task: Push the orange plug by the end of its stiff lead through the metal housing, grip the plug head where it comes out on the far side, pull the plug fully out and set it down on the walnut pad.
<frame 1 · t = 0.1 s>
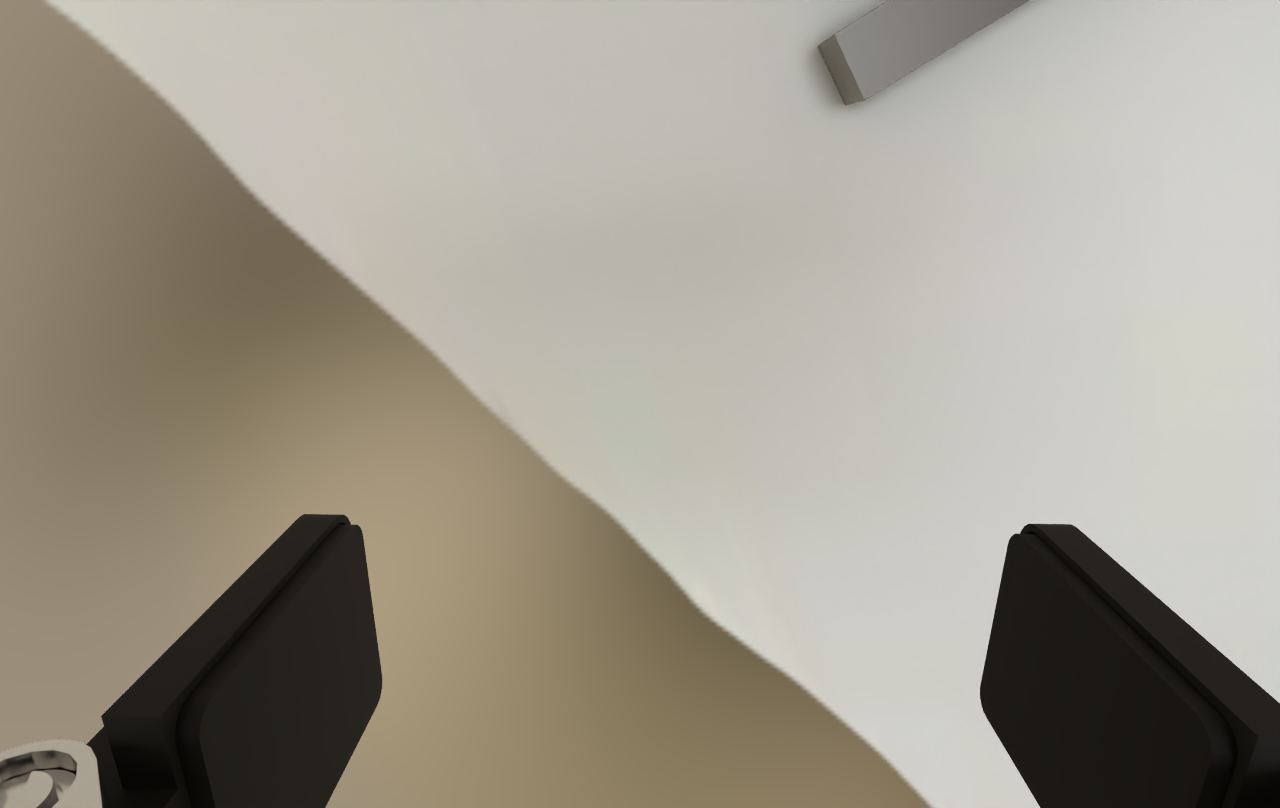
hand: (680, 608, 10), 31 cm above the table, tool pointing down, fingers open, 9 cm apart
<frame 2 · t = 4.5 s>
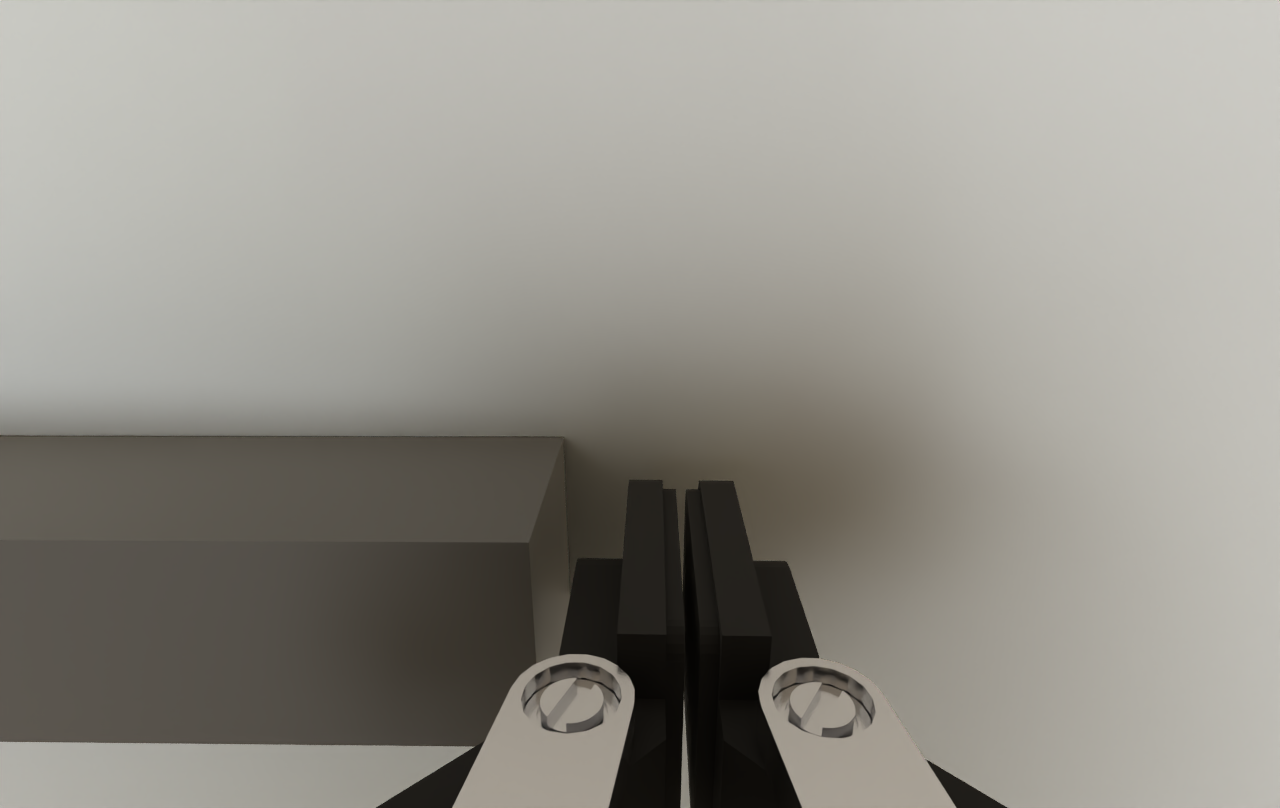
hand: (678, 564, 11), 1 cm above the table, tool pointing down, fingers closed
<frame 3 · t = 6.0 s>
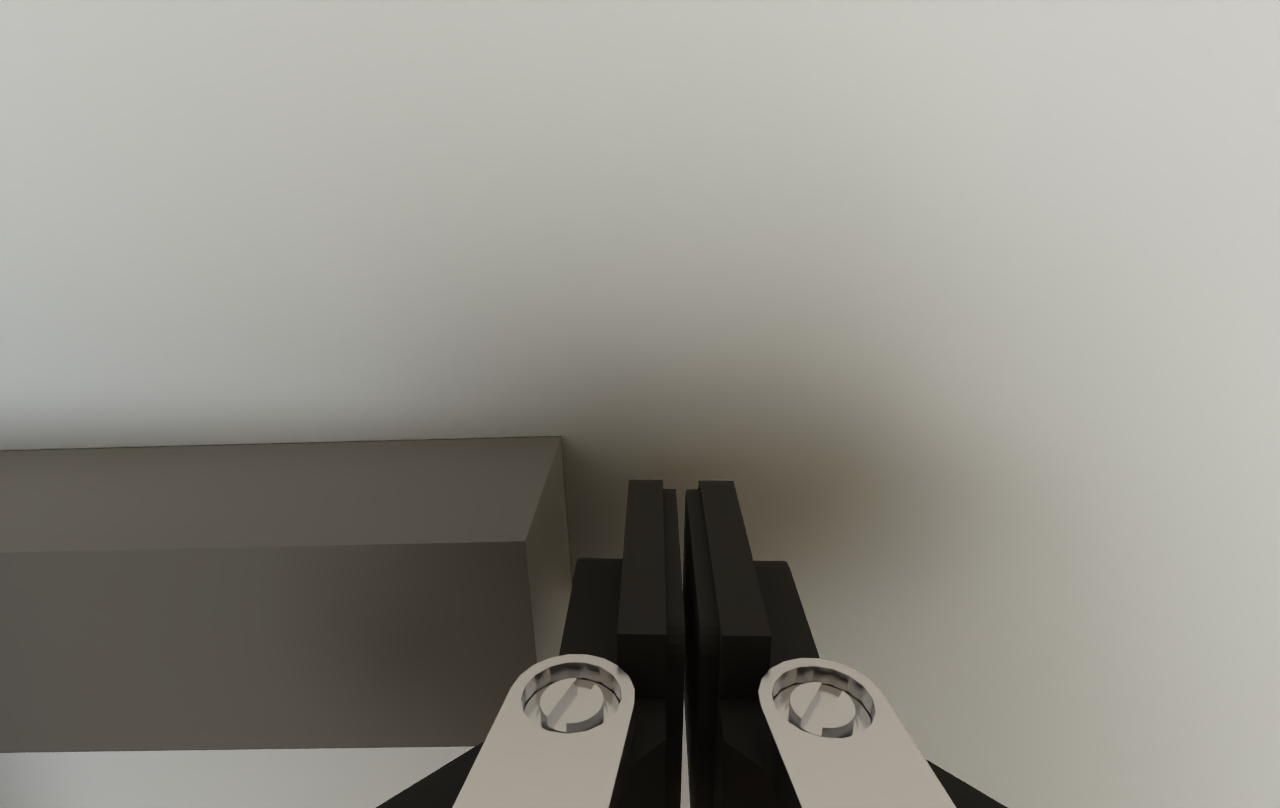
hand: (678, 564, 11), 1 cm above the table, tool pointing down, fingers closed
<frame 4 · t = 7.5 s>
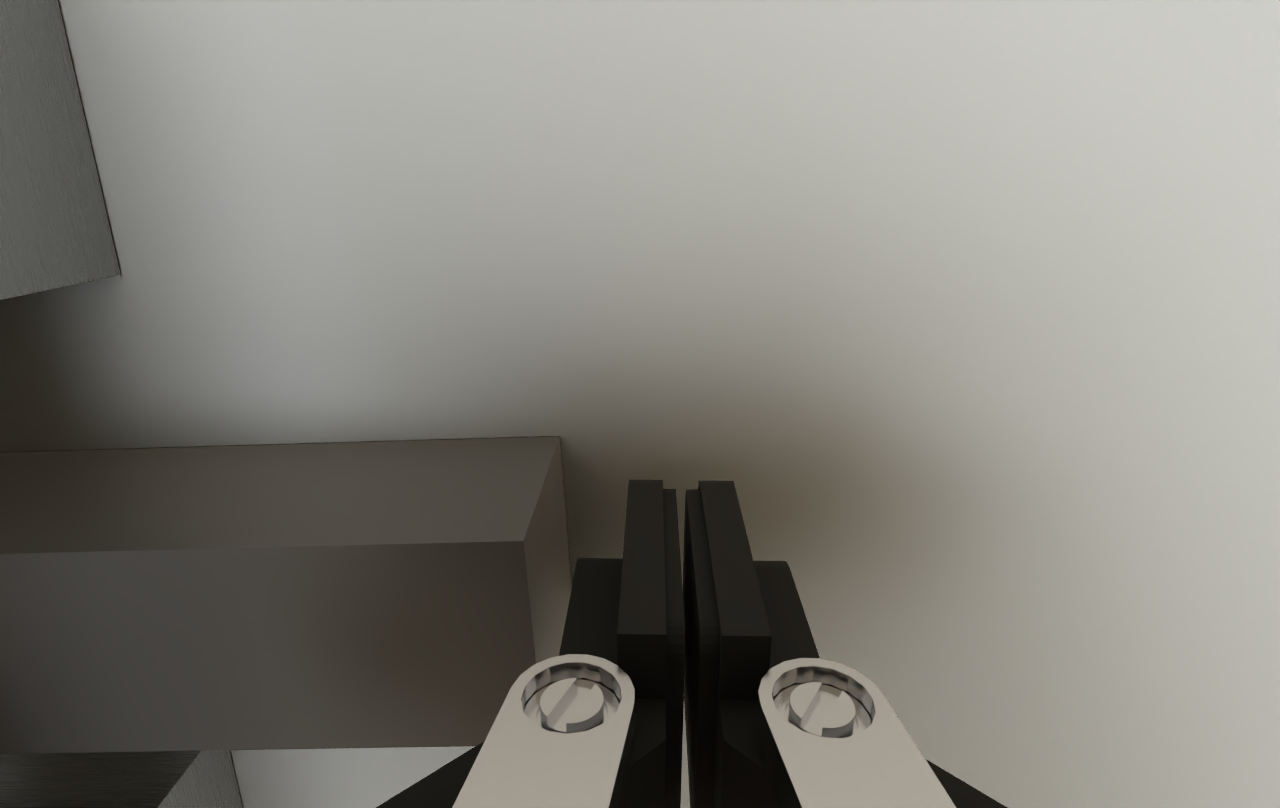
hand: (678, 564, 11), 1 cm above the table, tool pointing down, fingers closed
housing: (15, 521, 13), on the table
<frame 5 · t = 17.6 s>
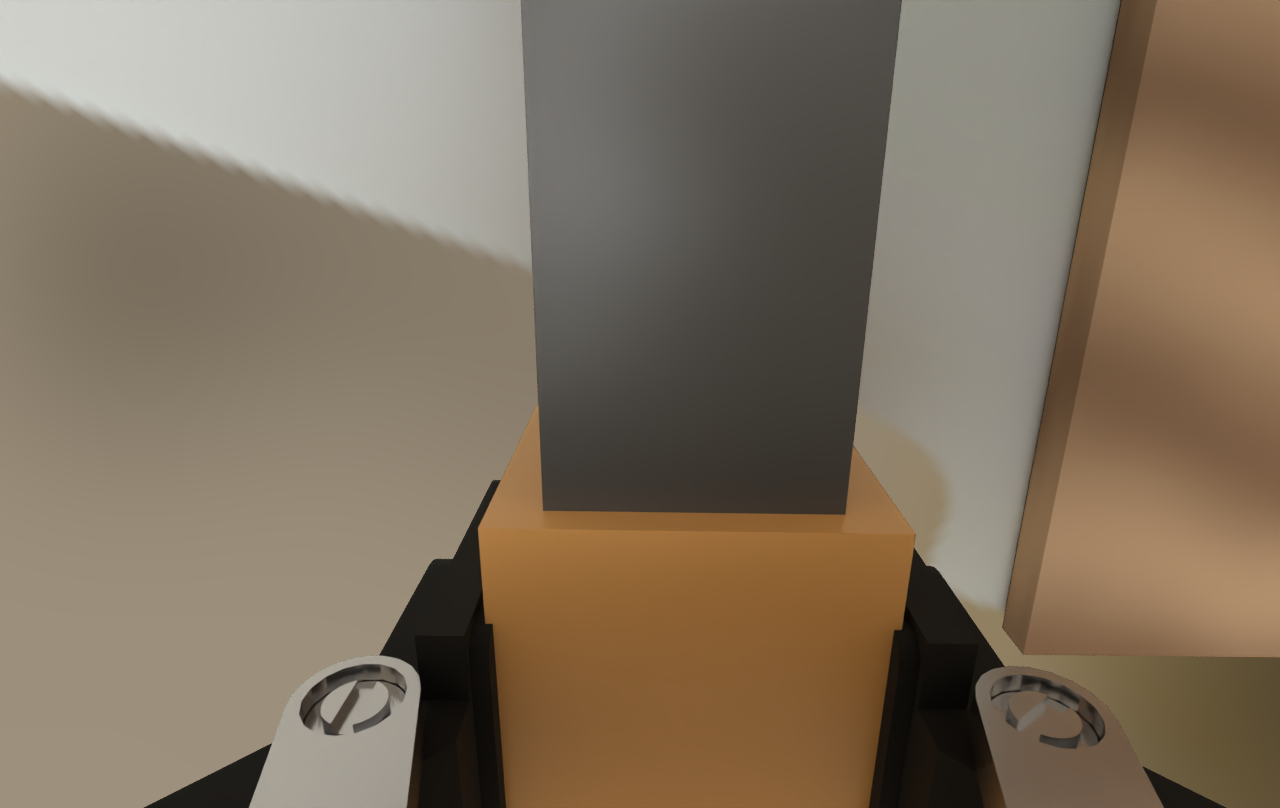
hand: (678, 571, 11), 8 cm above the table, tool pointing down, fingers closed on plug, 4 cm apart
plug: (690, 42, 9), point 7 cm above the table, touching gripper
when the fingers open (3 cm above the table, at t = 21.9 s): plug drops 2 cm, resting on pad.
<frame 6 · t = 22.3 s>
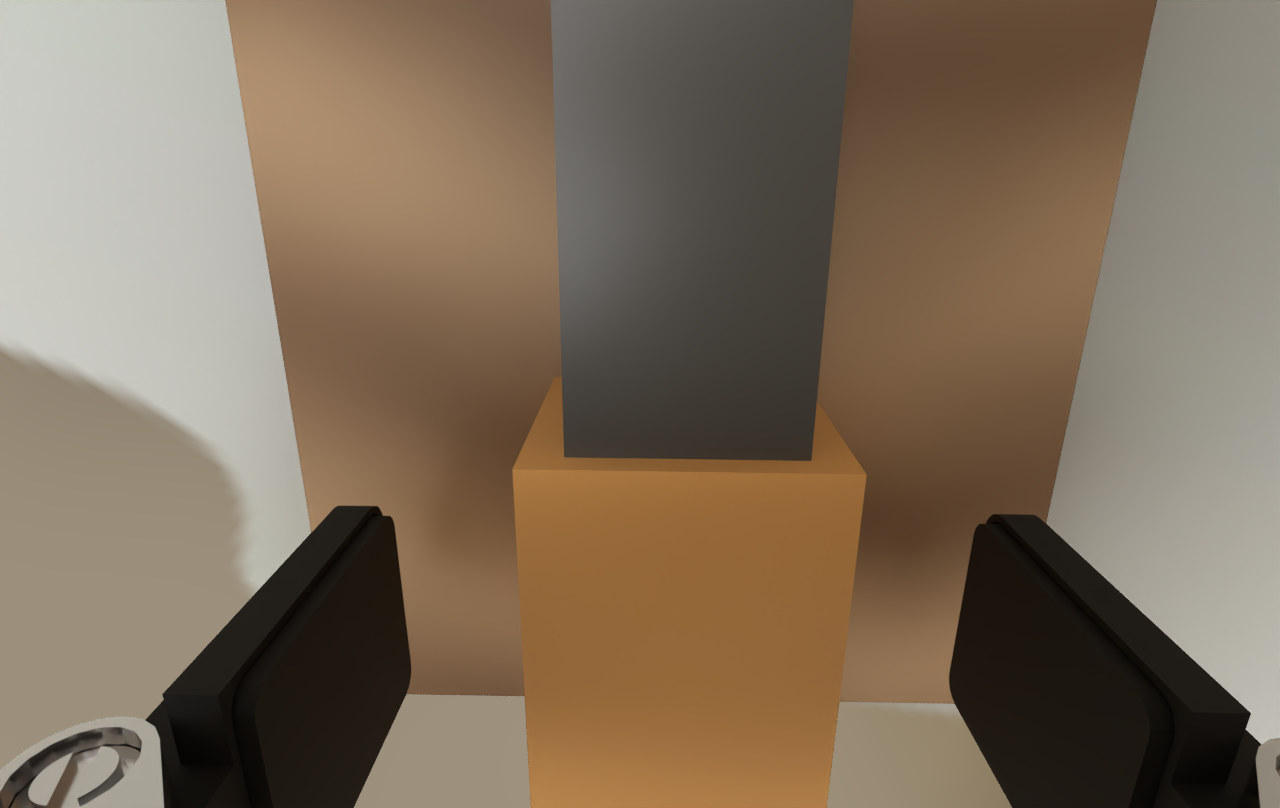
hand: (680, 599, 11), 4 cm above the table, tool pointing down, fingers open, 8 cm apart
plug: (686, 69, 11), point 1 cm above the table, touching pad
pad: (683, 10, 12), on the table
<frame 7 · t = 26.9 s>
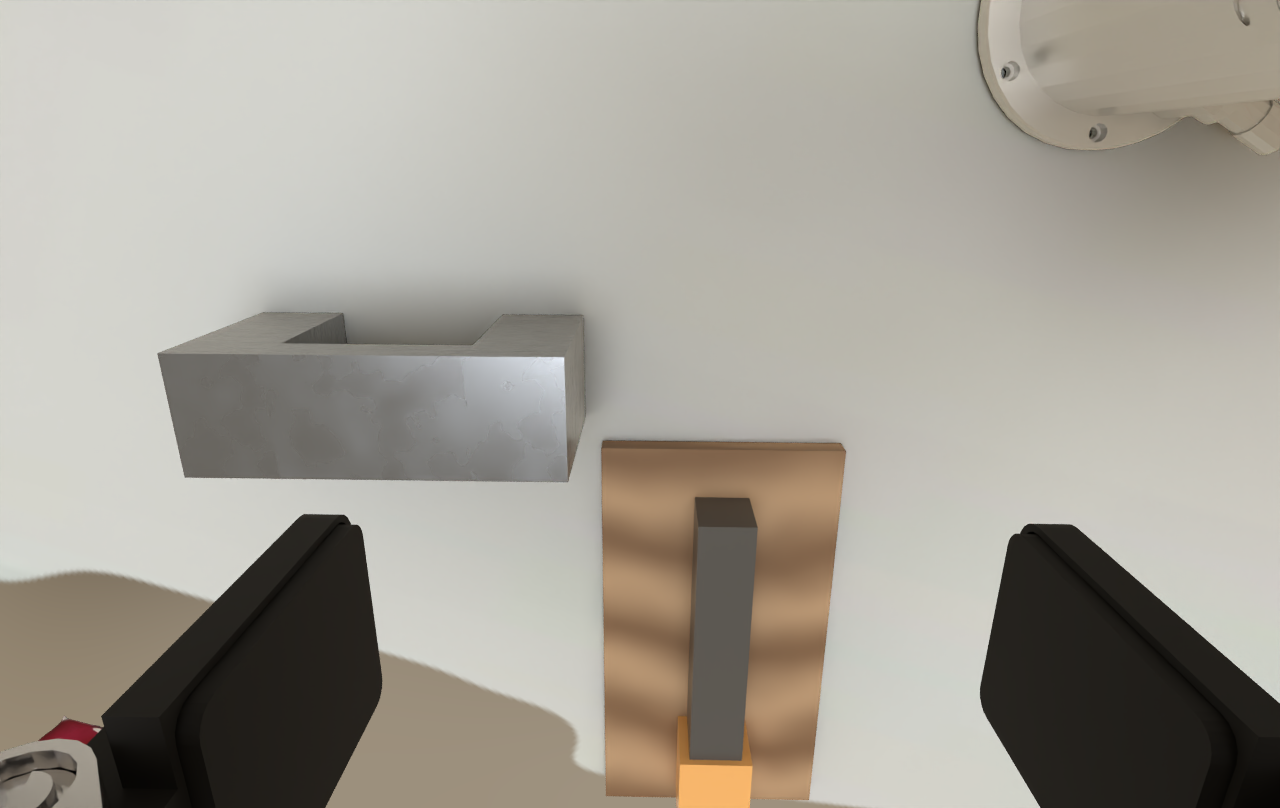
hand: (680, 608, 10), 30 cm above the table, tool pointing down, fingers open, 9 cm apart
housing: (427, 365, 41), on the table
power drill: (74, 783, 52), on the table
plug: (714, 653, 45), point 1 cm above the table, touching pad
pad: (713, 628, 46), on the table
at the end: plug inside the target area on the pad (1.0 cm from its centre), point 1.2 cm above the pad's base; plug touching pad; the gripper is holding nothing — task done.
